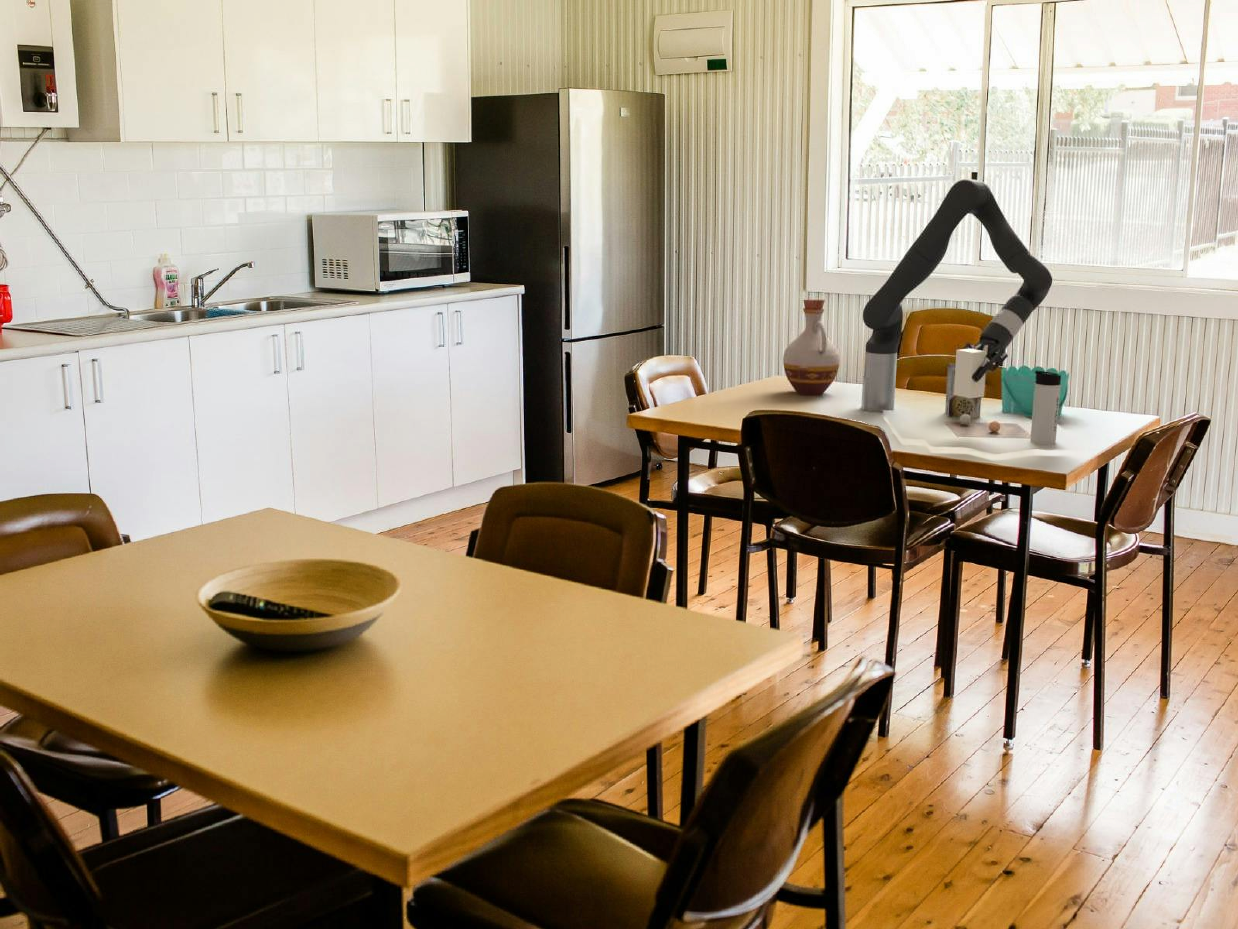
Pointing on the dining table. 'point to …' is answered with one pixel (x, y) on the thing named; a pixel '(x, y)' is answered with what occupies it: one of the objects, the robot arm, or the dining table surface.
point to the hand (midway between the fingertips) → (965, 377)
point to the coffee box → (959, 399)
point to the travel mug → (1045, 407)
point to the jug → (811, 355)
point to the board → (987, 430)
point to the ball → (994, 426)
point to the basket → (1026, 389)
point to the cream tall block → (968, 373)
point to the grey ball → (965, 419)
